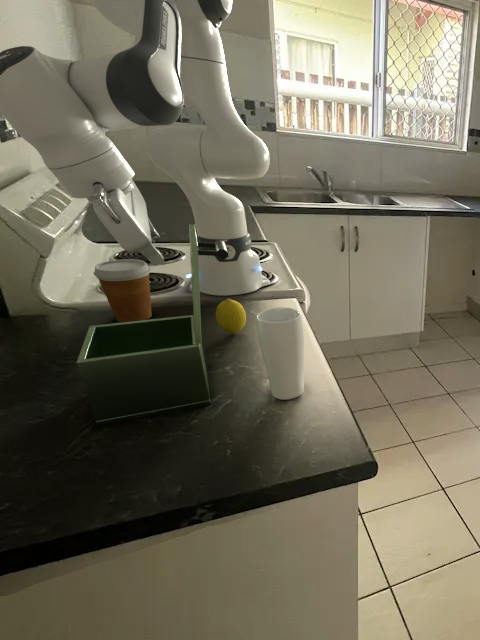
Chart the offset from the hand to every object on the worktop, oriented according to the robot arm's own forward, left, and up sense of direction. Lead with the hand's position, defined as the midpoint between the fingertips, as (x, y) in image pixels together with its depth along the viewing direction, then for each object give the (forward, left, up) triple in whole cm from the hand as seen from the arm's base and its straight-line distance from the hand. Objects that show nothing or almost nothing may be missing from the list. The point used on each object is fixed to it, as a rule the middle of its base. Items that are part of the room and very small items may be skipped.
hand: (157, 250), depth 81 cm
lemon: (-10, +10, -22) cm, 26 cm away
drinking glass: (+19, +16, -22) cm, 33 cm away
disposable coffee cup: (-26, -8, -22) cm, 35 cm away
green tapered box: (+11, -3, -22) cm, 24 cm away
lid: (+11, +4, -2) cm, 12 cm away
